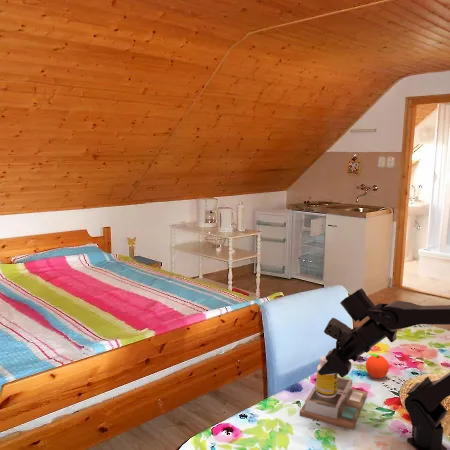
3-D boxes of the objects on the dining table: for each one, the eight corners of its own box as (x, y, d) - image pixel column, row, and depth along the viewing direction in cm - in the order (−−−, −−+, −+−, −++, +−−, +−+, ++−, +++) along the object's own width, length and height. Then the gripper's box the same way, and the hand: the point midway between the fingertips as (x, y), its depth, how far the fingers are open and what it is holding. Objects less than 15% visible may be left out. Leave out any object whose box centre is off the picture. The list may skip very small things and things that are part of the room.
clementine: (357, 374, 149) (358, 353, 148) (370, 368, 153) (371, 347, 152) (380, 384, 143) (381, 362, 142) (392, 377, 147) (394, 355, 146)
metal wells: (337, 419, 122) (337, 409, 121) (304, 411, 125) (305, 400, 125) (351, 389, 137) (352, 379, 137) (322, 382, 141) (322, 373, 140)
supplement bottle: (337, 399, 123) (338, 363, 122) (315, 397, 124) (316, 362, 123) (336, 389, 128) (337, 355, 127) (316, 387, 130) (317, 353, 128)
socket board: (353, 429, 119) (353, 423, 119) (299, 415, 126) (299, 409, 125) (366, 396, 136) (367, 390, 136) (318, 385, 142) (319, 379, 142)
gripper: (352, 301, 130) (311, 333, 136) (335, 322, 113) (290, 357, 120) (380, 333, 127) (338, 364, 134) (368, 360, 111) (320, 394, 117)
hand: (322, 368), depth 126 cm, fingers closed on supplement bottle, 5 cm apart
